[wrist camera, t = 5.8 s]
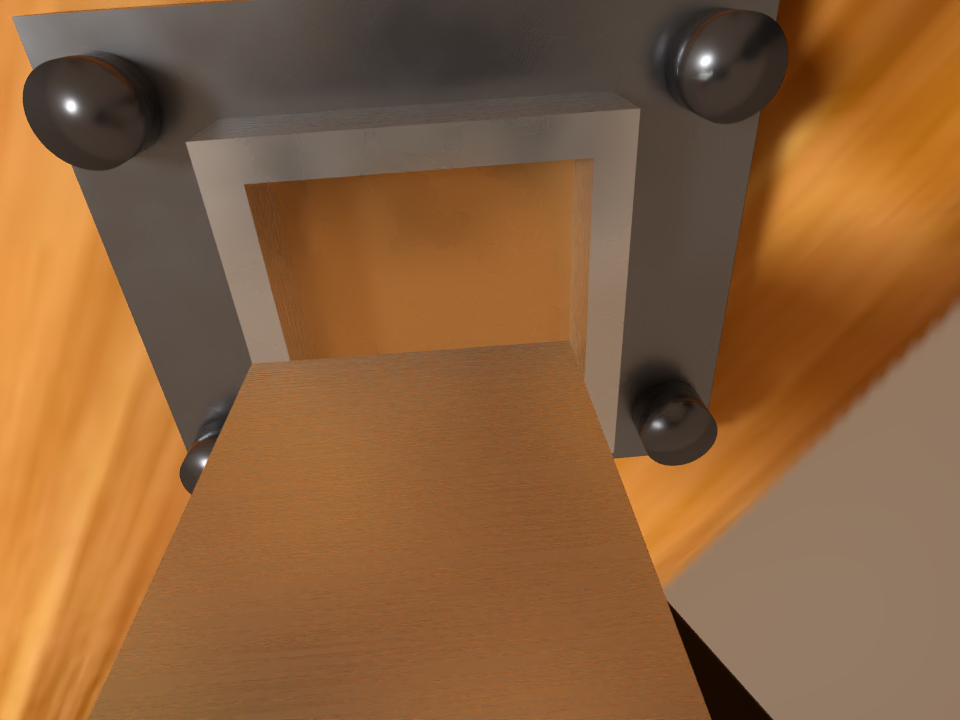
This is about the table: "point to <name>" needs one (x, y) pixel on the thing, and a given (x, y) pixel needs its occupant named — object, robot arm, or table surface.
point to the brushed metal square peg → (407, 555)
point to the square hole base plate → (418, 185)
